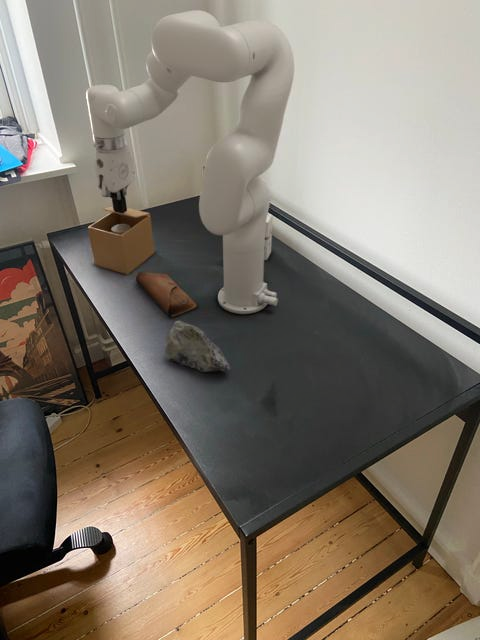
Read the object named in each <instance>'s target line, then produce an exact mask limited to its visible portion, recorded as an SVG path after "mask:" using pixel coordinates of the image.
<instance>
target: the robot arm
mask: <svg viewBox="0 0 480 640" xmlns="http://www.w3.org/2000/svg"><path fill="white" fill-rule="evenodd" d="M150 39H151V41H150V45H151V52H149V54H148V56H147V58H146V60H145V66H146V71H147V74H148V75H149V77H148V78H147V79H146V81H144V82H143V83H142V84H140V85H136V86H133V87H130V88H127V89H123V90H119V88H118V87H116V86H115V85H111V84H96V85H92V86H90V87H89V88H88V89H87V90H86V93H85V94H86V95H85V97H86V101H87V108H88V115H89V121H90V126H91V132H92V139H93V147H94V149H95V150H94V169H95V170H94V171H95V179H96V183H97V187H98V189H99V190H101V196H102V197H103V198H109V199H111V203H112V207H113V210H114V211H115V212H118V213H122V214H123V213H124V212H126V211H127V208H128V207H127V192H128V191H127V190H128V187H129V186H130V185H131V184H132V183H133V182H135V180H136V171H135V165H134V160H133V159H134V158H133V155H132V152H131V149H130V146H129V144H128V142H127V139H126V130H127V129H129V128H133V127H134V126H137V125H139V124H142V123H145V122H147V121H150V120H153V119H155V118H156V117H159V115H161V114H162V113H163V112H164V111H165V110H167V108H169V107H170V106H171V105H172V104H173V103H174V102H175V101H176V100H177V98H178V96H179V94H180V92H181V87H182V86H183V85H184V84H186V82H187V81H188V80H189V79H190V78H192V77H195V78H199V79H203V80H207V81H211V82H216V83H231V82H235V81H238V80H240V79H243V78H246V77H249V76H250V78H249V79H250V80H249V83H248V85H247V87H246V88H245V91H244V94H243V96H242V99H241V102H240V106H239V115H238V119H237V123H236V125H235V128H234V130H233V131H232V132H231V133H230V134H228V135H225V136H224V137H222V138H220V139H218V140H217V141H216V142H215V143H213V145H212V146H211V147H210V149H209V151H208V152H207V155H206V158H205V161H204V167H203V172H202V173H203V174H202V178H201V179H202V180H201V186H200V193H199V199H198V200H199V201H198V214H199V217H200V220H201V224H203V226H204V228H206V230H207V231H208V232H209V233H211V234H213V235H215V236H222V260H223V261H222V264H223V269H222V270H223V287H222V288H221V289H220V290H219V291H218V294H217V301H218V304H219V306H220V307H221V308H222V309H224V310H225V311H227V312H230V313H233V314H239V315H248V314H254V313H258V312H260V311H261V310H263V309H265V308H266V306H268V305H270V306H273V307H276V306H277V305H278V302H279V299H278V292H275V291H270V290H269V289H268V283H266V282H265V281H264V273H265V272H264V271H265V260H264V245H265V227H266V220H267V215H268V214H269V210H270V209H269V208H270V203H271V194H270V188H269V185H268V183H267V182H266V180H265V179H264V178H263V177H262V176H261V175H262V174H264V173H265V172H267V171H268V170H269V169H270V168H271V166H272V165H273V163H274V160H275V157H276V152H277V148H278V145H279V140H280V136H281V132H282V128H283V123H284V117H285V113H286V110H287V105H288V102H289V98H290V95H291V91H292V88H293V81H294V75H295V57H294V51H293V49H292V46H291V44H290V42H289V39H288V38H287V36H286V34H285V33H284V32H283V30H281V28H280V27H278V26H277V25H276V24H275V23H273V22H270V21H269V20H265V19H248V20H245V21H241V22H236V23H233V24H229V25H224V26H221V25H220V23H219V22H218V20H217V19H216V17H215V16H213V15H212V14H210V13H209V12H208V11H204V10H198V9H194V10H188V11H183V12H177V13H172V14H169V15H165V16H163V17H162V18H160V19H159V20H158V22H156V24H155V26H154V28H153V30H152V32H151V37H150Z"/></svg>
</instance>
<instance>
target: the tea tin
mask: <svg viewBox="0 0 480 640" xmlns="http://www.w3.org/2000/svg"><path fill="white" fill-rule="evenodd" d="M129 229H131V227H130V226H129V225H127V224H118V225H115V226H113V227H112V229H111V230H112V233H115V234H119V235H122V234H123V233H125V232H126V231H128V230H129Z"/></svg>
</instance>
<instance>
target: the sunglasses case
mask: <svg viewBox="0 0 480 640" xmlns="http://www.w3.org/2000/svg"><path fill="white" fill-rule="evenodd" d="M135 281H136V283H137V284H138V285H139V286H140V287H141V288H142V289H143V290H144V291H145V292H146V293H147V294H148V295H149V296H150V297H151V299H153V300H154V301H155V303H157V305H158V306H159V307H160V308H161V309H162V311H164V312H165V313H166V315H167V316H170V317H172V318H174V317H177V316H180V315H183V314H186V313H187V312H190V311H192V310H194V309H196V308H197V306H198V305H197V303H196V302H195V301H194V300H193V299H192V298H191V297H190V296H189V295H188V294H187V293H186V291H184V290H183V289H182V287H180V286H179V285H178V284H177V283H176V282H175V281H174V280H173V278H172V277H170V275H168V273H155V272H154V273H152V272H146V271H138V272H137V274H136V276H135Z"/></svg>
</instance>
